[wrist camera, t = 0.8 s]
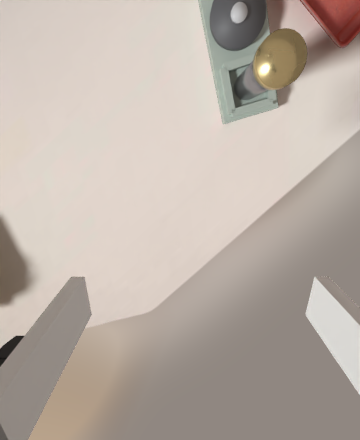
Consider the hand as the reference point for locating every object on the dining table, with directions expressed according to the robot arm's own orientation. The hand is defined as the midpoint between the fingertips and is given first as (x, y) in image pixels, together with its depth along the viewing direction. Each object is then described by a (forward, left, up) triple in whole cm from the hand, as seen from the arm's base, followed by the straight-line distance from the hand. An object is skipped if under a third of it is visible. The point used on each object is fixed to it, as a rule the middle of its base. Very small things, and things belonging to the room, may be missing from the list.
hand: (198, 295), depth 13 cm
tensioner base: (-17, +12, -28) cm, 35 cm away
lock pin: (-13, +12, -26) cm, 31 cm away
